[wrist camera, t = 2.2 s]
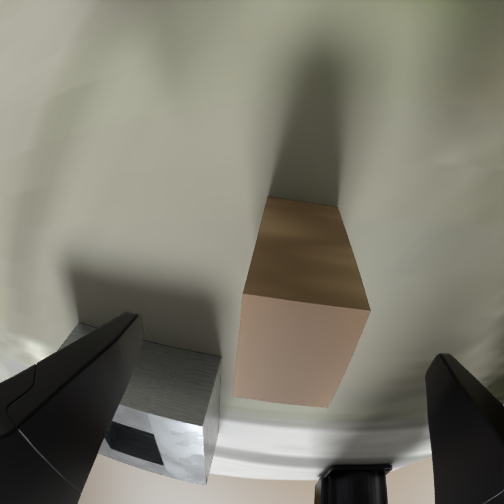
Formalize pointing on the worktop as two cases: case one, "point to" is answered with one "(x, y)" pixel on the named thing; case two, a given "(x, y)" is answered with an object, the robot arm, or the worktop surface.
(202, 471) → the grey square socket block
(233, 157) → the worktop surface
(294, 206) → the tan rectangular block
